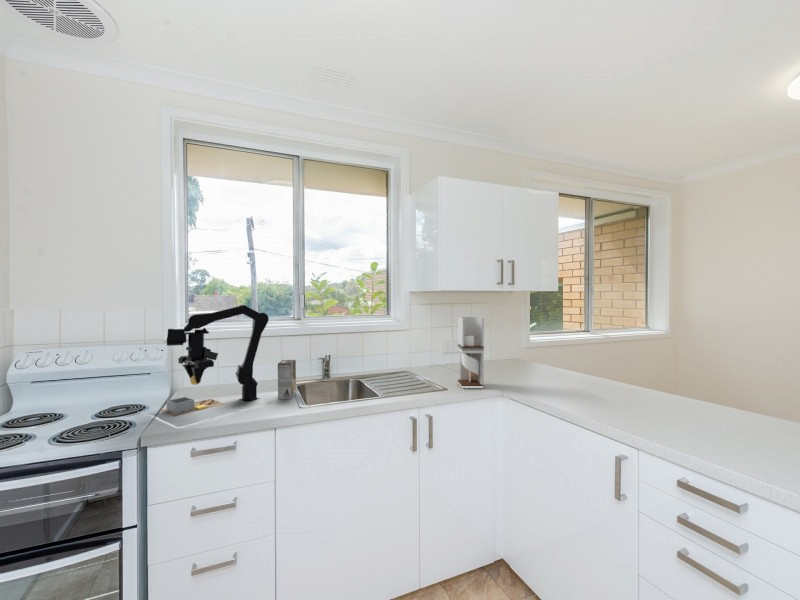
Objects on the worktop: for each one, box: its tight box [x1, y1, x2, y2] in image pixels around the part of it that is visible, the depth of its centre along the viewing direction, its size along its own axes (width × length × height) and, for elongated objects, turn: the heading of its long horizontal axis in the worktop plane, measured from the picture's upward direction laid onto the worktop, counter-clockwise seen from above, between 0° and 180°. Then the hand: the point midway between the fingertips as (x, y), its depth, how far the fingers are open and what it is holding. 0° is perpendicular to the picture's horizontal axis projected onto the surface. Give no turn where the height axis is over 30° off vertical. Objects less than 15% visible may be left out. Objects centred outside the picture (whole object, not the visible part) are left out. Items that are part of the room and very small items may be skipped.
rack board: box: [160, 398, 225, 417], centre depth 153 cm, size 12×20×1 cm, turn 144°
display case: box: [457, 316, 485, 386], centre depth 190 cm, size 11×11×35 cm
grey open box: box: [166, 396, 195, 414], centre depth 148 cm, size 7×7×4 cm
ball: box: [189, 376, 202, 386], centre depth 154 cm, size 4×4×4 cm
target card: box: [194, 404, 209, 411], centre depth 151 cm, size 4×4×1 cm
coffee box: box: [277, 359, 297, 400], centre depth 171 cm, size 9×6×16 cm
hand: (195, 382), depth 154 cm, fingers closed on ball, 4 cm apart
